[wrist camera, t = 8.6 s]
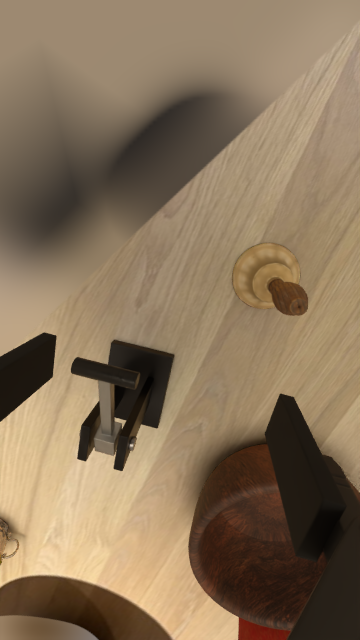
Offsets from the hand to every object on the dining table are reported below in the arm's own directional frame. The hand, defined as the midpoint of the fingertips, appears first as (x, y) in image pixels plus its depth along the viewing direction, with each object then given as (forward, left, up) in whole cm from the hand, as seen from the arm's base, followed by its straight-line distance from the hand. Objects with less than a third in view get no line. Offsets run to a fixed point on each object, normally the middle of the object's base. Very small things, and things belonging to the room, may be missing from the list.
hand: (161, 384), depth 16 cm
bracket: (+10, -12, -23) cm, 27 cm away
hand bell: (0, +10, -23) cm, 25 cm away
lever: (+5, -9, -10) cm, 14 cm away
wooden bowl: (+34, +3, -23) cm, 41 cm away
